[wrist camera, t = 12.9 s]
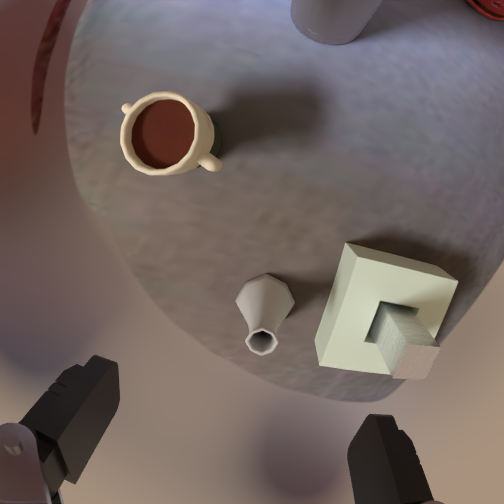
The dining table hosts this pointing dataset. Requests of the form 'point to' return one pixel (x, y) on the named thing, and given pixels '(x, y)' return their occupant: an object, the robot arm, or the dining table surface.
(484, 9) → the plant pot
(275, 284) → the flask
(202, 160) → the character mug
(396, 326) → the rectangular block
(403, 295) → the well block
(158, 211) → the dining table surface
